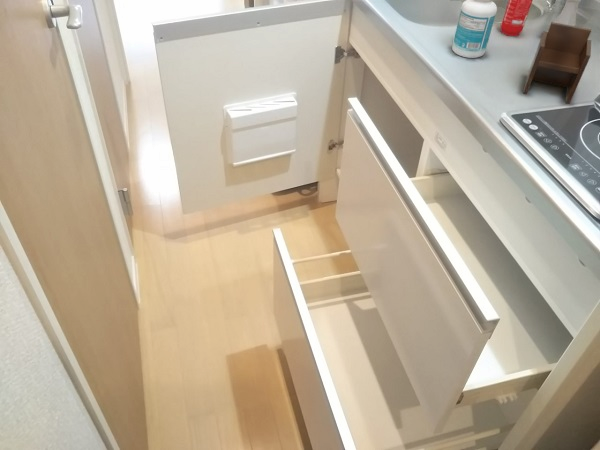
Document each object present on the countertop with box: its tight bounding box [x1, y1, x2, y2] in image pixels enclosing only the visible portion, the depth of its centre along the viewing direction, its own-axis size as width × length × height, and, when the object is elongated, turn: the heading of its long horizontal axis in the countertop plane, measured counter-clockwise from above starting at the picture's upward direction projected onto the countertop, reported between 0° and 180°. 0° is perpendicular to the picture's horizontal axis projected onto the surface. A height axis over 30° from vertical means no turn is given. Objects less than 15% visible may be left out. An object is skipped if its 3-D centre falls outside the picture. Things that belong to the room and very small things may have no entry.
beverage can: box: [500, 0, 534, 37], centre depth 124 cm, size 5×5×12 cm
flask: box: [546, 0, 582, 32], centre depth 123 cm, size 7×7×10 cm
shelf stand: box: [522, 21, 592, 105], centre depth 103 cm, size 9×8×12 cm
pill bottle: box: [451, 0, 498, 59], centre depth 114 cm, size 8×7×14 cm
